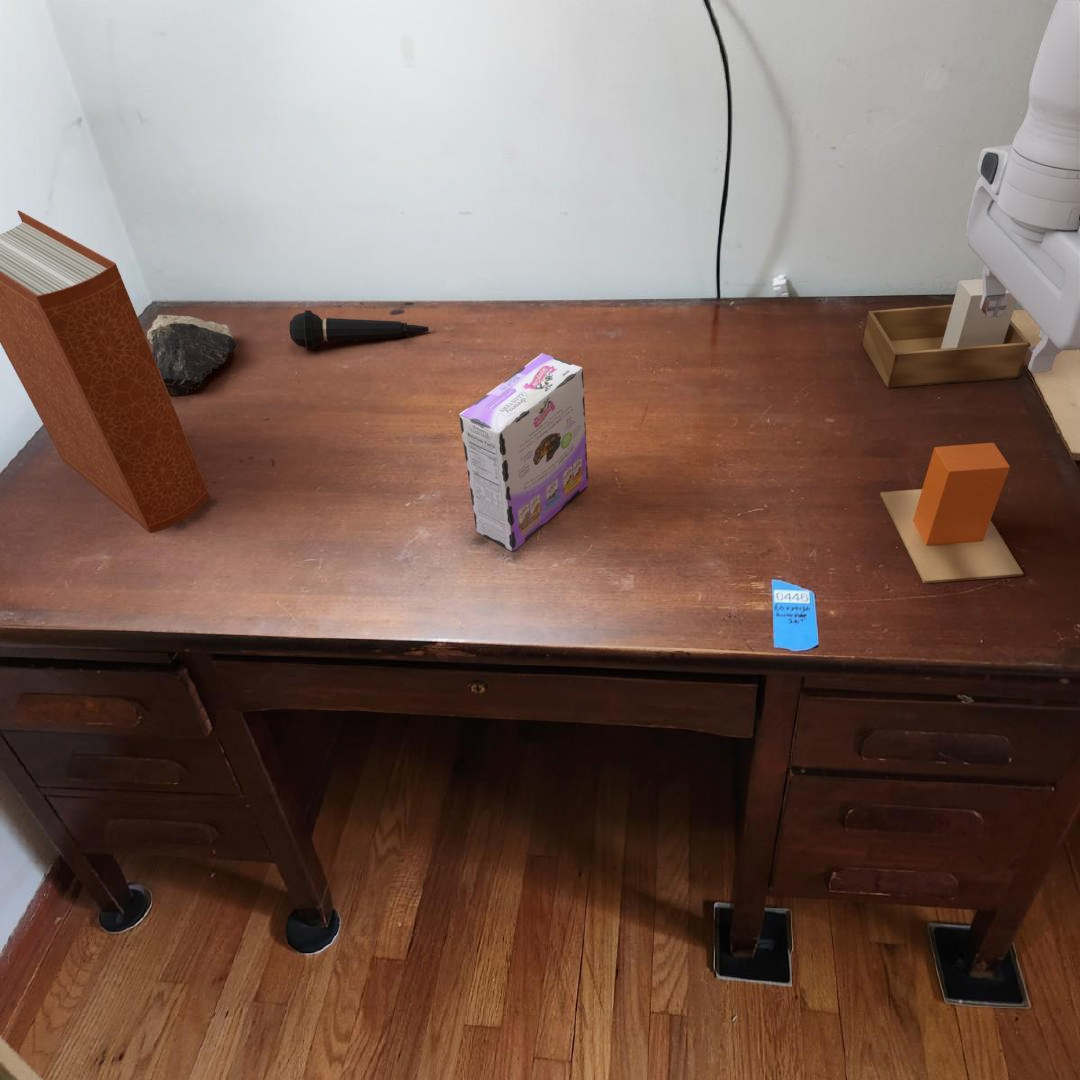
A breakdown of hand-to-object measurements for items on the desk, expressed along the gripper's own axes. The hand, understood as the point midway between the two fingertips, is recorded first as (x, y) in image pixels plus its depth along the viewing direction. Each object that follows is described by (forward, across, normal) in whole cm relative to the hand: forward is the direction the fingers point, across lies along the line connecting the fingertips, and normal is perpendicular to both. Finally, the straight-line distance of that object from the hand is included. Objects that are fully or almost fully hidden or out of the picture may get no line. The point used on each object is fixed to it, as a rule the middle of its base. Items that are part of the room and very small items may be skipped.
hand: (1012, 339), depth 81 cm
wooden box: (+24, +33, -11) cm, 42 cm away
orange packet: (+23, 0, 0) cm, 23 cm away
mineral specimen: (+23, +45, +91) cm, 104 cm away
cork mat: (+23, 0, 0) cm, 23 cm away
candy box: (+23, +9, +44) cm, 51 cm away
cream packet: (+23, +33, -15) cm, 43 cm away
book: (+23, +20, +93) cm, 98 cm away
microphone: (+23, +49, +68) cm, 87 cm away
